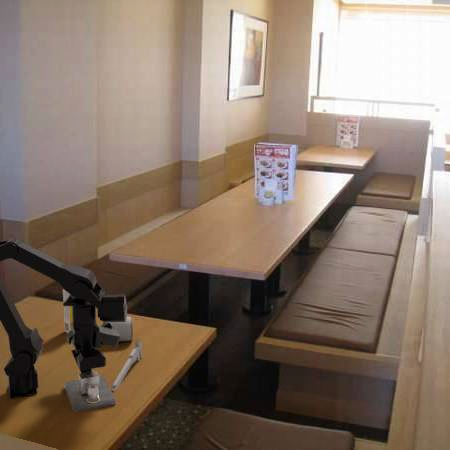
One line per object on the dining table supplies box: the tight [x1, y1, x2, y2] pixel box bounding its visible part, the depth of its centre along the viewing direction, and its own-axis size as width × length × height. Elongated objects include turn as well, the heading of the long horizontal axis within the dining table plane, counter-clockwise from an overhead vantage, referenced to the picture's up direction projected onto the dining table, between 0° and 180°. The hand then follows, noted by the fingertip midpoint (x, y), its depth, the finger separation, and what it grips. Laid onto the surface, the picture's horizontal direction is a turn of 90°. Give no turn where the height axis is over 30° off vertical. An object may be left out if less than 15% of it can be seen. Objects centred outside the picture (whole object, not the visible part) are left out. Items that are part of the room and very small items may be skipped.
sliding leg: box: [78, 370, 100, 394], centre depth 157 cm, size 4×3×4 cm
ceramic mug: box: [110, 316, 134, 342], centre depth 193 cm, size 11×8×8 cm
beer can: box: [62, 288, 73, 334], centre depth 196 cm, size 6×6×15 cm
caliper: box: [110, 339, 143, 392], centre depth 170 cm, size 20×1×6 cm, turn 168°
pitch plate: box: [63, 375, 116, 413], centre depth 158 cm, size 10×13×5 cm
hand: (86, 379), depth 161 cm, fingers closed
